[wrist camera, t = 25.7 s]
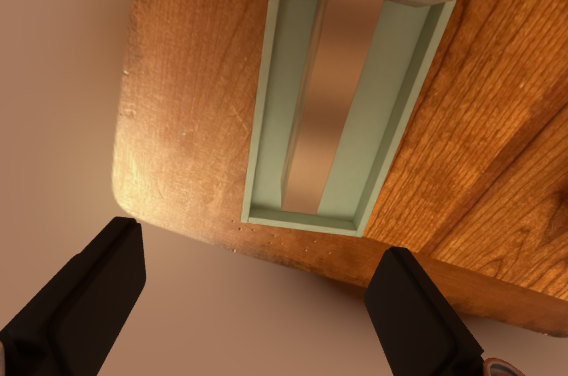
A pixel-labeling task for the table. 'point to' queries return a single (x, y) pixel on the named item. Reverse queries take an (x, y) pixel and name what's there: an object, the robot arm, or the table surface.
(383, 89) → the tray
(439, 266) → the table surface
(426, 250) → the table surface
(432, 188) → the table surface
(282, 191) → the brush
